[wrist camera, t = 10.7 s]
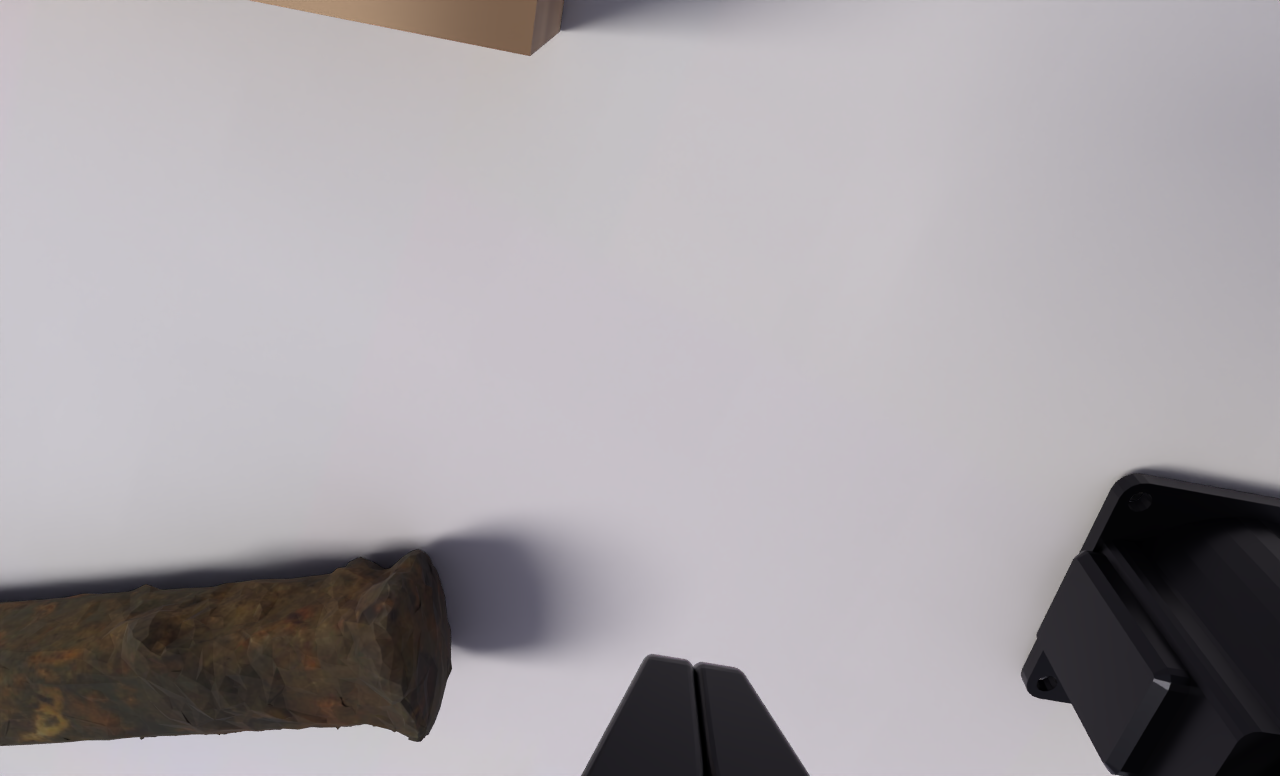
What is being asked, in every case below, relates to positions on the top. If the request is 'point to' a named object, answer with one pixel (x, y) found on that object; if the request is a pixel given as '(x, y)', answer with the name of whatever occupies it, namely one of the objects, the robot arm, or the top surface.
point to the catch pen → (452, 19)
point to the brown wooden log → (229, 657)
